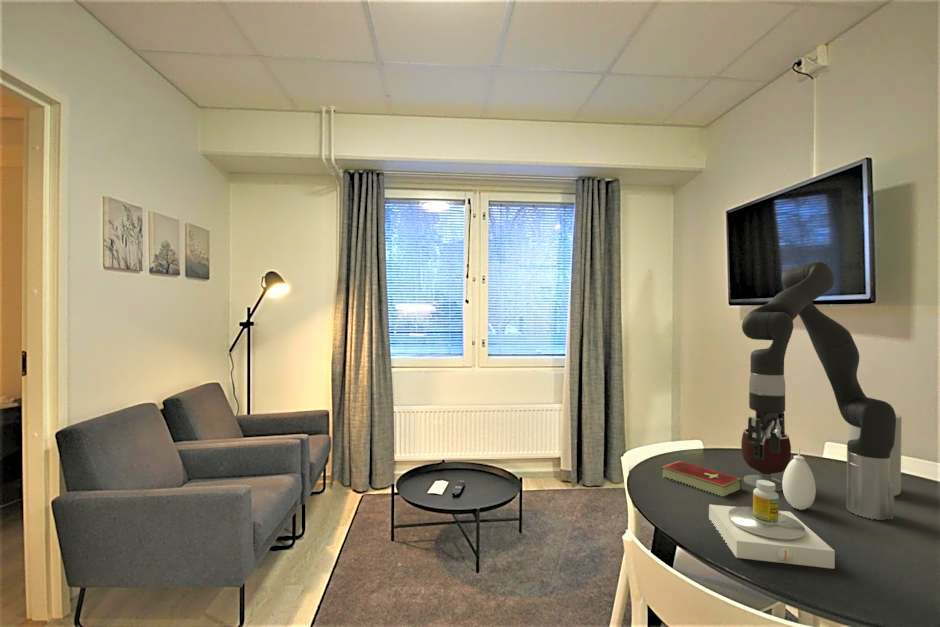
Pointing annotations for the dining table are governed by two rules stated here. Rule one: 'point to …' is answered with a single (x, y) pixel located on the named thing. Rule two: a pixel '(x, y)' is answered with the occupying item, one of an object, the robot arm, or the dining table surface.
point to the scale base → (772, 543)
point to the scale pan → (781, 531)
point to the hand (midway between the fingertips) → (766, 456)
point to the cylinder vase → (894, 454)
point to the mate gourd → (766, 460)
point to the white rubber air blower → (799, 483)
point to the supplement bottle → (765, 503)
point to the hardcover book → (702, 478)
